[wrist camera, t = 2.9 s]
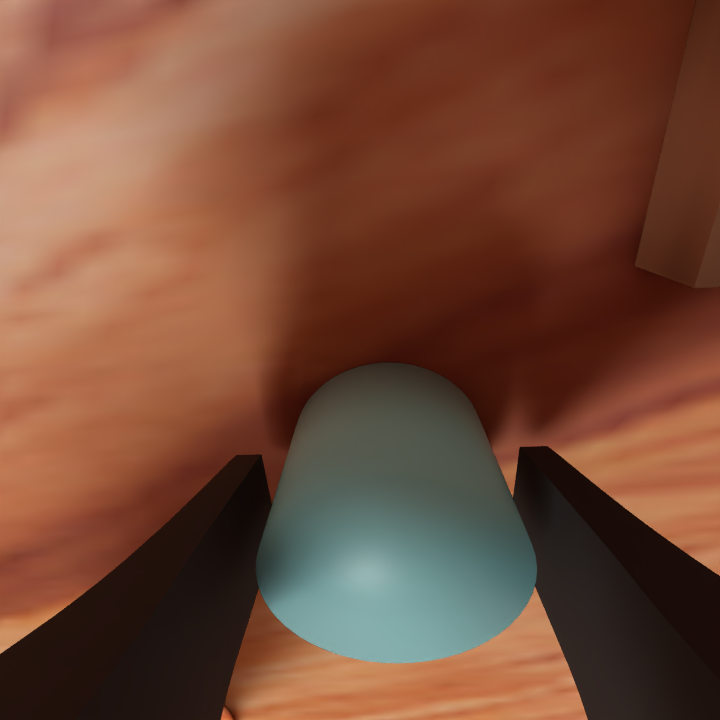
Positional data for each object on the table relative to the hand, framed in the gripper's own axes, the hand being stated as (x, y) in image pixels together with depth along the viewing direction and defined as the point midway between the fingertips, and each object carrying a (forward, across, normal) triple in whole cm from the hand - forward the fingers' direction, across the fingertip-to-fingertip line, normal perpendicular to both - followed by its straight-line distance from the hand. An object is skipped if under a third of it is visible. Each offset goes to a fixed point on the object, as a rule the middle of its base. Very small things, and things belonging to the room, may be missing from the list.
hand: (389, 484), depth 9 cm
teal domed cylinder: (+2, 0, 0) cm, 2 cm away
